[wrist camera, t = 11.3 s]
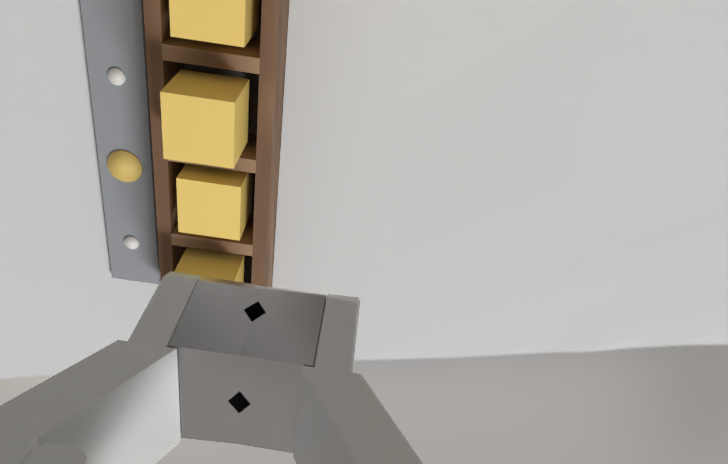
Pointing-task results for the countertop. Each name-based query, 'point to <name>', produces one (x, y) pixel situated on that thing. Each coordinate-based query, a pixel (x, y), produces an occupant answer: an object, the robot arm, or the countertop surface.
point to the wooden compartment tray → (261, 147)
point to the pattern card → (123, 134)
